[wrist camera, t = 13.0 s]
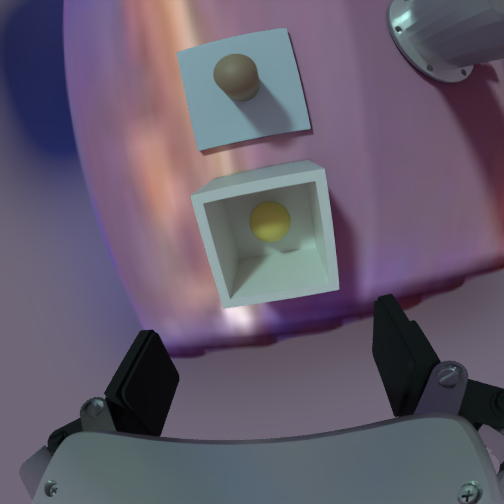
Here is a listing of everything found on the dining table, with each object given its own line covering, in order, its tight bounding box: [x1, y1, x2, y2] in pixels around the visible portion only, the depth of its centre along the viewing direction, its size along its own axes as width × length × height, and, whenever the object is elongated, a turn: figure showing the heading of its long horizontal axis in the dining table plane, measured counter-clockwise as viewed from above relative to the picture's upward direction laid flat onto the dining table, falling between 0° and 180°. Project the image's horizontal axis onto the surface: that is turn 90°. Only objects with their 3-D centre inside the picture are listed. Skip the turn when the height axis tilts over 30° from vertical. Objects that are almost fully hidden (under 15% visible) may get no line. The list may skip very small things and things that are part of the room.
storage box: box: [190, 160, 339, 308], centre depth 26 cm, size 10×10×9 cm
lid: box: [177, 28, 311, 151], centre depth 22 cm, size 12×12×6 cm
